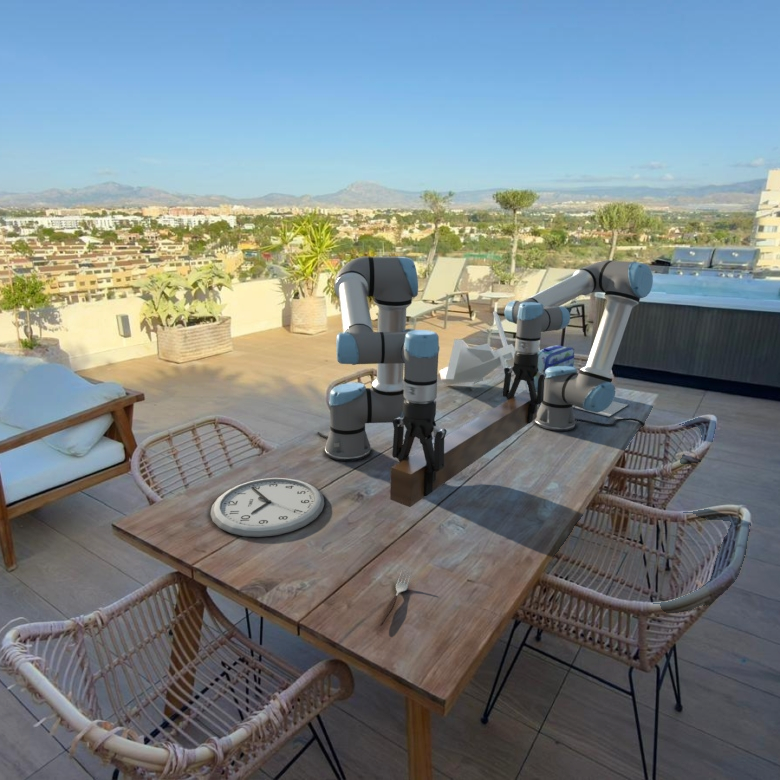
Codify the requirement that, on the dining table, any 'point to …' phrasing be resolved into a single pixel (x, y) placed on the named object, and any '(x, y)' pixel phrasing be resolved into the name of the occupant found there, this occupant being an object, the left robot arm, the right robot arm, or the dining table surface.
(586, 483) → the dining table surface
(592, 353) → the right robot arm
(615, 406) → the invitation card
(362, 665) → the dining table surface
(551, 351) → the lunch box
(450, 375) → the white plastic object
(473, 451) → the post
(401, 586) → the fork
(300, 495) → the wall clock
